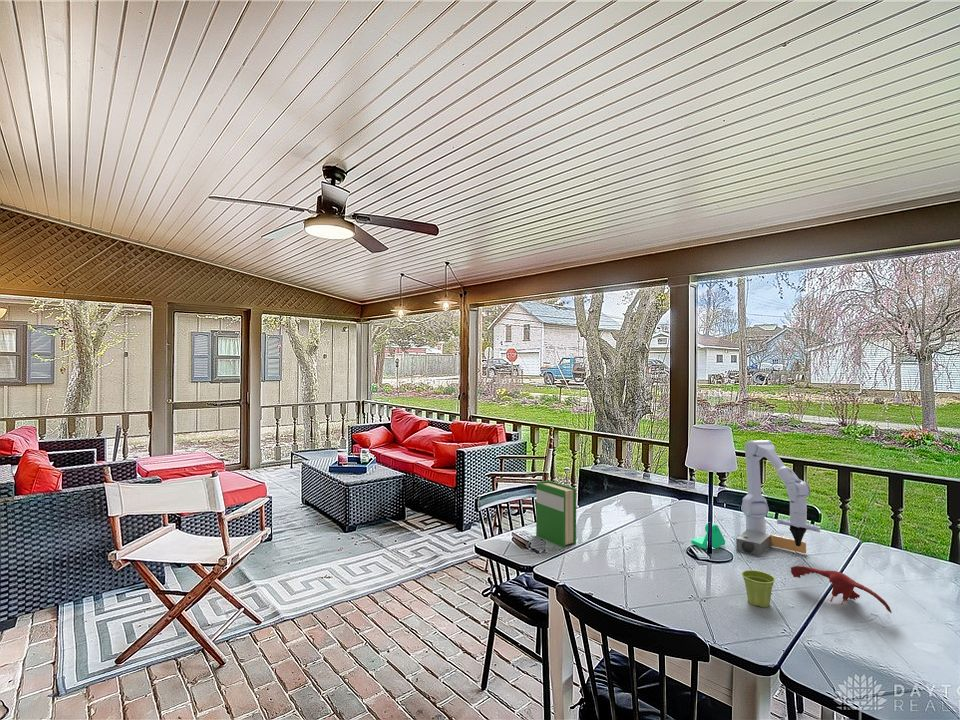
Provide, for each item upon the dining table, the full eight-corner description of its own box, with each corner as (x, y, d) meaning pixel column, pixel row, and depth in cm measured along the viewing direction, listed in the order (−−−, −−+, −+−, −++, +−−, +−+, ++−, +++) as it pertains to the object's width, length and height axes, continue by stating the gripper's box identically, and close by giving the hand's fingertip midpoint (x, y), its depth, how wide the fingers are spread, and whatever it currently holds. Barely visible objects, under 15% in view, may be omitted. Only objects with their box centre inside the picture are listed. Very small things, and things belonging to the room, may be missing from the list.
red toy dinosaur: (797, 597, 168) (780, 570, 163) (808, 575, 171) (791, 549, 166) (896, 637, 143) (879, 608, 138) (907, 611, 146) (890, 581, 141)
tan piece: (770, 545, 203) (770, 535, 203) (771, 544, 204) (771, 534, 205) (805, 553, 195) (805, 542, 195) (806, 552, 196) (806, 541, 196)
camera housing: (747, 540, 211) (747, 527, 211) (771, 546, 204) (771, 532, 205) (735, 550, 199) (735, 537, 199) (759, 557, 192) (759, 543, 192)
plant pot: (759, 612, 149) (759, 584, 149) (735, 598, 158) (735, 571, 158) (782, 608, 151) (782, 580, 151) (757, 594, 160) (757, 568, 160)
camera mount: (709, 541, 210) (709, 518, 210) (725, 547, 203) (725, 523, 203) (690, 545, 205) (690, 521, 205) (705, 551, 198) (705, 526, 198)
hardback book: (576, 544, 205) (576, 488, 206) (563, 547, 201) (563, 490, 202) (548, 532, 220) (548, 480, 220) (536, 535, 216) (536, 482, 216)
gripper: (775, 510, 196) (775, 543, 195) (817, 518, 185) (817, 553, 185) (779, 506, 201) (779, 538, 200) (821, 514, 190) (821, 548, 190)
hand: (798, 545), depth 193 cm, fingers closed
